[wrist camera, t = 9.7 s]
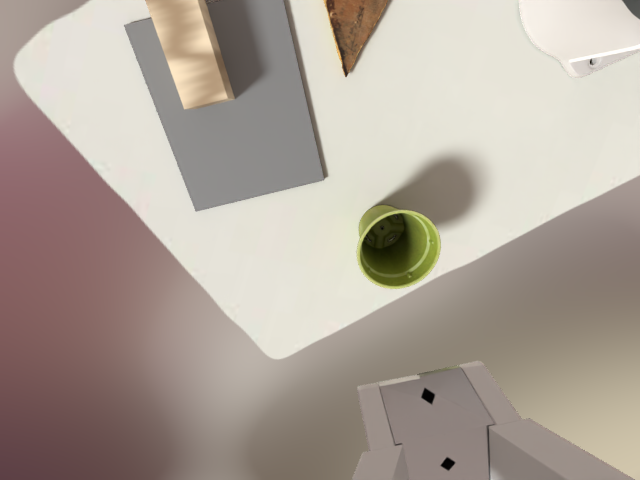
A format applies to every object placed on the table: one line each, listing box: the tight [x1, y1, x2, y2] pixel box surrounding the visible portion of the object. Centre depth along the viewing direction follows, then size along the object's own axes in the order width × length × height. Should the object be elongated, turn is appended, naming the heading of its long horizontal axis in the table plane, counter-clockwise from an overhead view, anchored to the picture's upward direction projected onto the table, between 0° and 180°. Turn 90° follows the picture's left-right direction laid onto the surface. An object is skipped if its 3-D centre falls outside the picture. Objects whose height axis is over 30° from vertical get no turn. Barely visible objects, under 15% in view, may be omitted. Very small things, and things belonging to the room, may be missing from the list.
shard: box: [323, 0, 388, 77], centre depth 36 cm, size 11×8×2 cm
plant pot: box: [357, 205, 441, 289], centre depth 42 cm, size 9×9×9 cm
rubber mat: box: [124, 0, 324, 211], centre depth 39 cm, size 16×20×1 cm
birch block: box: [145, 0, 235, 109], centre depth 34 cm, size 4×4×10 cm
